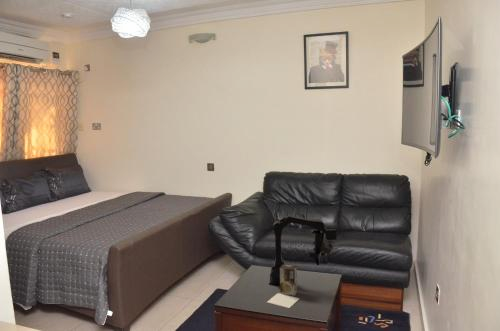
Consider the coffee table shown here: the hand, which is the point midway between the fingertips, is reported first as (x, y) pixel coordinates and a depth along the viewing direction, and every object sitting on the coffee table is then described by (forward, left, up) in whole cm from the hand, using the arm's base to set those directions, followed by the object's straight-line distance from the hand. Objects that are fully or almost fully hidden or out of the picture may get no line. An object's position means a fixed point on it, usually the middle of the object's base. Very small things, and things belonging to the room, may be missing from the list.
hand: (318, 264), depth 243 cm
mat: (-9, -31, -13) cm, 35 cm away
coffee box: (-11, -20, -13) cm, 26 cm away
